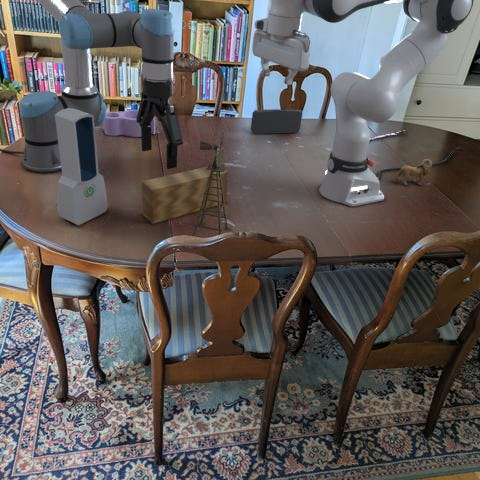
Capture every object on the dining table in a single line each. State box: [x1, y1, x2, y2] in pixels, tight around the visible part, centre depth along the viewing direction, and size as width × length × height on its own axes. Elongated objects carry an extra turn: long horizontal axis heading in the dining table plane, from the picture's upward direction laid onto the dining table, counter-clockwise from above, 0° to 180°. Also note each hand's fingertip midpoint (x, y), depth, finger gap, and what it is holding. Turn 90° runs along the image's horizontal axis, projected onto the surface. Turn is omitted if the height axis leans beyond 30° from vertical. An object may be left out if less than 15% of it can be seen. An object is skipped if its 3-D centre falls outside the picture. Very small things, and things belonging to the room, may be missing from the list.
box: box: [141, 166, 229, 225], centre depth 140 cm, size 26×6×11 cm, turn 128°
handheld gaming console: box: [250, 108, 303, 135], centre depth 204 cm, size 23×3×10 cm, turn 108°
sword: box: [370, 131, 408, 142], centre depth 215 cm, size 31×3×1 cm, turn 126°
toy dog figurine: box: [392, 158, 433, 186], centre depth 172 cm, size 15×5×9 cm, turn 110°
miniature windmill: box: [192, 132, 229, 237], centre depth 124 cm, size 9×8×30 cm
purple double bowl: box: [102, 109, 156, 138], centre depth 190 cm, size 20×12×7 cm, turn 109°
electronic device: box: [55, 108, 109, 226], centre depth 126 cm, size 12×8×30 cm, turn 148°
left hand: (158, 158), depth 127 cm, fingers open, 13 cm apart
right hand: (276, 79), depth 132 cm, fingers open, 8 cm apart
